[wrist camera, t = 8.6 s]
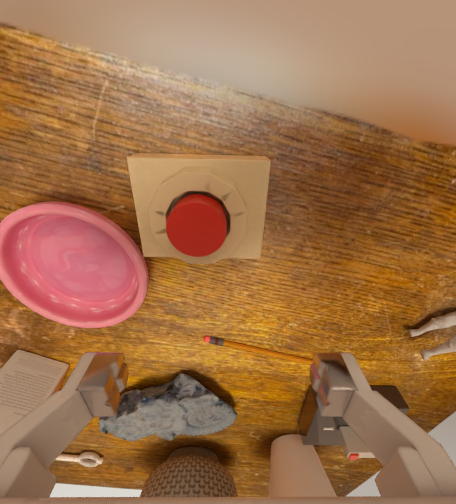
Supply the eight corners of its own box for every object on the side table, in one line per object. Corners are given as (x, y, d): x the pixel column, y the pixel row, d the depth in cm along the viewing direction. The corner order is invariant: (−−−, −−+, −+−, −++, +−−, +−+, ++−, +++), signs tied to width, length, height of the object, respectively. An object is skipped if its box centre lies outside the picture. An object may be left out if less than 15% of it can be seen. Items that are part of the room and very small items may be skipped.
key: (104, 462, 45) (103, 452, 43) (102, 468, 44) (101, 459, 42) (35, 456, 44) (31, 445, 42) (31, 462, 43) (27, 452, 41)
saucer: (42, 161, 19) (11, 170, 16) (179, 246, 23) (172, 265, 20) (3, 268, 24) (-26, 288, 21) (121, 323, 28) (109, 346, 25)
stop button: (227, 194, 17) (227, 202, 15) (226, 245, 19) (226, 257, 17) (168, 192, 16) (162, 200, 15) (173, 245, 18) (168, 256, 17)
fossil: (242, 413, 37) (245, 443, 34) (138, 433, 40) (130, 463, 36) (215, 361, 31) (214, 393, 28) (93, 389, 34) (79, 421, 30)
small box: (59, 395, 34) (-23, 533, 23) (10, 382, 33) (-104, 523, 22) (71, 363, 31) (-18, 507, 20) (17, 347, 29) (-113, 493, 18)
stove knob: (368, 426, 33) (382, 455, 30) (365, 431, 34) (378, 460, 31) (339, 426, 33) (350, 455, 30) (337, 431, 34) (347, 460, 31)
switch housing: (395, 385, 34) (410, 410, 31) (372, 423, 39) (383, 447, 36) (309, 385, 34) (317, 409, 31) (297, 422, 39) (303, 446, 36)
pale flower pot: (264, 422, 38) (281, 561, 27) (338, 428, 40) (386, 564, 28) (248, 457, 44) (256, 582, 33) (313, 461, 46) (343, 585, 34)
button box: (266, 155, 19) (275, 165, 15) (257, 246, 23) (263, 271, 19) (136, 152, 19) (115, 161, 15) (150, 244, 23) (136, 269, 19)
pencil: (204, 337, 29) (203, 343, 28) (205, 333, 29) (205, 339, 28) (342, 368, 32) (345, 374, 31) (345, 365, 32) (348, 371, 31)
